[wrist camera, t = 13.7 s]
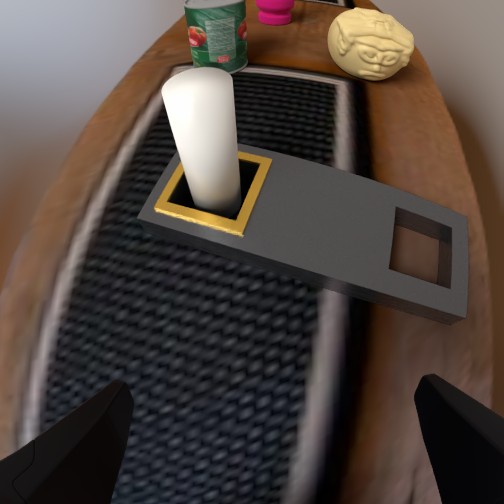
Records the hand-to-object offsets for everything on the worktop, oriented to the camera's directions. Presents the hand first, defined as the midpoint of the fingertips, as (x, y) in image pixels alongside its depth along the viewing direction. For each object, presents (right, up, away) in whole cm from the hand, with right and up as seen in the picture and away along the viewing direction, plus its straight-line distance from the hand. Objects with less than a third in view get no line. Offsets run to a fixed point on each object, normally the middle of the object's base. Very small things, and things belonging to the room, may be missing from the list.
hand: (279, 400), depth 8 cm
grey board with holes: (+5, +6, +18) cm, 19 cm away
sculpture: (+16, +32, +29) cm, 46 cm away
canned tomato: (-5, +31, +30) cm, 44 cm away
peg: (-4, +9, +19) cm, 21 cm away
